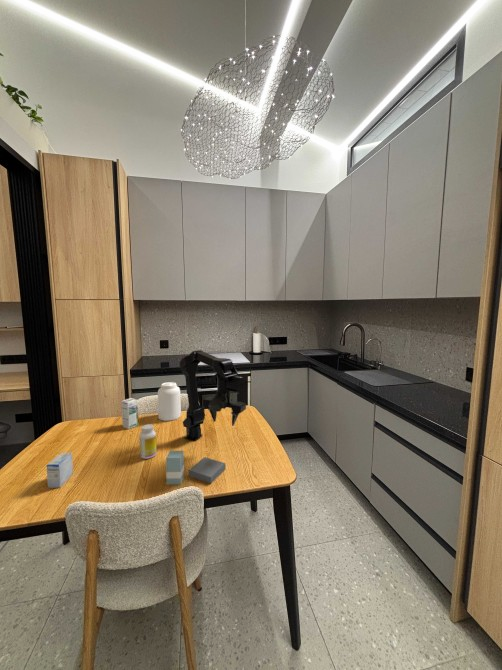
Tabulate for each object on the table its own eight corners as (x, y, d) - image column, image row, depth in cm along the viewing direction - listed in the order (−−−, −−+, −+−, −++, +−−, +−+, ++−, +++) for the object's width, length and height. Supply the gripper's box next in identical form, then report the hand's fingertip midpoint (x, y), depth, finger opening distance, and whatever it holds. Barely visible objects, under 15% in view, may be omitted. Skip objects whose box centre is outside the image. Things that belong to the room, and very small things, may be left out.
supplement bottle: (159, 452, 119) (159, 424, 118) (149, 460, 113) (148, 431, 112) (147, 450, 121) (146, 422, 120) (136, 457, 115) (135, 428, 114)
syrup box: (128, 429, 142) (127, 402, 140) (122, 426, 145) (121, 400, 143) (138, 425, 147) (137, 399, 145) (131, 423, 150) (130, 397, 148)
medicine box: (61, 474, 103) (59, 452, 102) (73, 474, 103) (72, 452, 103) (47, 488, 95) (45, 464, 94) (60, 487, 96) (59, 464, 95)
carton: (170, 475, 103) (169, 450, 102) (184, 475, 103) (183, 450, 102) (166, 484, 98) (165, 458, 97) (180, 484, 98) (180, 457, 97)
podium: (188, 476, 103) (188, 469, 102) (204, 462, 112) (204, 457, 111) (211, 483, 98) (211, 477, 98) (225, 469, 107) (225, 463, 107)
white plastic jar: (154, 420, 153) (153, 385, 151) (164, 412, 166) (163, 380, 164) (175, 422, 151) (174, 387, 149) (184, 413, 164) (183, 381, 162)
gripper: (194, 390, 113) (194, 426, 115) (234, 397, 105) (233, 436, 107) (209, 383, 123) (209, 416, 125) (246, 389, 115) (246, 425, 117)
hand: (223, 423), depth 118 cm, fingers open, 9 cm apart
